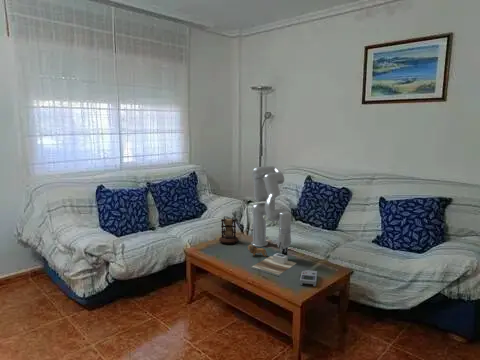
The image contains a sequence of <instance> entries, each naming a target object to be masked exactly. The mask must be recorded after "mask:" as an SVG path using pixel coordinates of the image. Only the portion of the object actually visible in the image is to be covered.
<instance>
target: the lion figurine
mask: <svg viewBox="0 0 480 360" xmlns="http://www.w3.org/2000/svg"><path fill="white" fill-rule="evenodd" d="M247 251H248V252H249V253H250V254H252V256H254V257H256V254H261V255H262V256H263V257H265V258H267V256H268V253H267V251H266V249H265V248H264V247H262V248H261V247H257V246H253V245H252V244H249V245H247Z"/></svg>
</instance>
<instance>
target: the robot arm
mask: <svg viewBox="0 0 480 360" xmlns="http://www.w3.org/2000/svg"><path fill="white" fill-rule="evenodd" d="M284 176H285V175H284V174H283V173H282V172H281V170H279V169H278V168H277V167H276V166H274V165H272V166H271V165H270V166H267V165H266V166H257V167H254V168H253V170H252V171H251V177H252V180H253V198H254V201H255V202H257V203H254V204H253V205H252V207H251V211H252V222H253V223H252V226H253V229H252V231H253V232H252V235H253V236H252V241H251V242H250V245H253V246H255V247H256V248H261V247H262V248H264V247H266V246H268V245H269V242H268V241H267V240H268V239H270V238H269V236H266V235H267V220H268V221H269V222H275V221H279V223H278V227H279V228H278V238H277V248H278V249H279V251H281V254H283V255H287V256H288V251H289V250H288V249H289V248H290V246H291V243H292V236H291V232H292V230H291V229H292V226H291V225H292V223H291V222H292V214H291V212H290V211H287V210H286V209H285V208H277V209H276V198H278V197H279V196H280V195H281V191H280V188H279V185H283V184H284V182H285V177H284ZM265 216H266V219H267V220H266V219H265V218H264V217H265Z"/></svg>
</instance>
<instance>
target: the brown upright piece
mask: <svg viewBox="0 0 480 360" xmlns="http://www.w3.org/2000/svg"><path fill="white" fill-rule="evenodd" d="M220 221H221V224H220V225H221V231H220V232H221V233H220V234H221V237H219V238H218V241H219V242H220V244H221V243H222V244H233V245H235V243H237V242H238V241H239V237H237V235H236V233H237V232H236V230H237V229H236V228H237V225H236V224H237V223H236V221H237V219H235V218H234V217H232V218H226V217H225V216H223V219H220Z"/></svg>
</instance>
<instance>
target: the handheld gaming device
mask: <svg viewBox="0 0 480 360" xmlns="http://www.w3.org/2000/svg"><path fill="white" fill-rule="evenodd" d="M317 278H318V270H307V269H306V270H302V271H301V274H300V278H299V285H301V286H303V285H304V284H306V285H313V287H317V281H318V280H317Z"/></svg>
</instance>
